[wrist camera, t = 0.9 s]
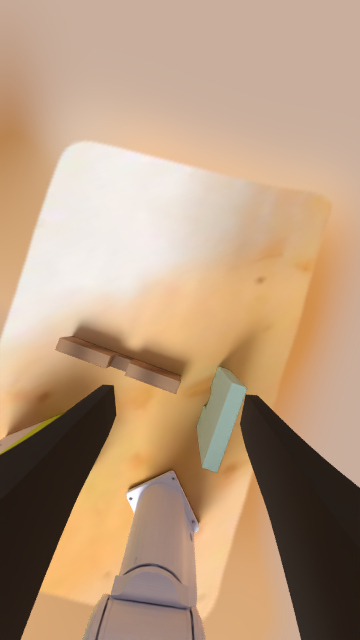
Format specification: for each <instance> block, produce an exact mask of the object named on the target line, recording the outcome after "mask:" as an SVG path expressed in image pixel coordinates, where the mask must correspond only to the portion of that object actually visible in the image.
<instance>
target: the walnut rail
mask: <svg viewBox="0 0 360 640" xmlns="http://www.w3.org/2000/svg"><path fill="white" fill-rule="evenodd" d="M55 350H57V351H59V352H62V353H65V354H68V355H70V356H73V357H76V358H79V359H81V360H84V361H87V362H89V363H92V364H95V365H98V366H100V367H103V368H108V367H109V366H111V367H114V368H117V369H119V370H122V371H125V372H126V373H125V376H128V377H130V378H133V379H136V380H139V381H141V382H144V383H147V384H150V385H152V386H155V387H158V388H161V389H163V390H166V391H169V392H172V393H174V394H176V393H177V390H178V387H179V385H180V380H181V376H180V375H177V374H174V373H172V372H169V371H166V370H163V369H161V368H158V367H155V366H152V365H150V364H147V363H144V362H141V361H139V360H136V359H133V358H130V357H128V356H125V355H122V354H119V353H117V352H114V351H111V350H108V349H106V348H103V347H100V346H97V345H95V344H92V343H89V342H86V341H84V340H81V339H78V338H75V337H73V336H70V337H62V338H59V341H58V344H57V346H56V349H55Z"/></svg>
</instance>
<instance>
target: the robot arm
mask: <svg viewBox="0 0 360 640" xmlns="http://www.w3.org/2000/svg"><path fill="white" fill-rule="evenodd" d="M115 417H116V406H115V395H114V385H102V386H100V387H99V388H97V389H96V390H95V391H93V392H92V393H91V394H89V395H88V396H87V397H85V398H84V399H83V400H81V401H80V402H79V403H77V404H76V405H75V406H73V407H72V408H71V409H69V410H68V411H67V412H65V413H64V414H62V415H61V416H59V417H58V418H57V419H55V420H54V421H52V422H51V423H49V424H48V425H46V426H45V427H43V428H42V429H41V430H39V431H38V432H36V433H35V434H33V435H32V436H30V437H28V438H27V439H25V440H24V441H22V442H20V443H19V444H17V445H16V446H14V447H12V448H11V449H9V450H7V451H6V452H4V453H2V454H1V455H0V640H21V637H22V634H23V631H24V629H25V626H26V624H27V621H28V619H29V616H30V613H31V610H32V608H33V606H34V603H35V600H36V598H37V595H38V593H39V590H40V588H41V585H42V582H43V580H44V577H45V575H46V572H47V570H48V567H49V565H50V562H51V560H52V557H53V555H54V552H55V550H56V547H57V545H58V542H59V540H60V538H61V535H62V533H63V530H64V528H65V526H66V523H67V521H68V518H69V516H70V514H71V511H72V509H73V507H74V504H75V502H76V500H77V498H78V496H79V493H80V491H81V489H82V487H83V485H84V483H85V481H86V479H87V477H88V475H89V473H90V471H91V469H92V467H93V465H94V463H95V461H96V459H97V457H98V455H99V453H100V451H101V449H102V447H103V445H104V443H105V441H106V439H107V437H108V435H109V433H110V430H111V428H112V425H113V422H114V420H115ZM240 426H241V431H242V435H243V439H244V443H245V447H246V450H247V453H248V456H249V459H250V462H251V465H252V468H253V470H254V473H255V476H256V479H257V482H258V485H259V488H260V491H261V493H262V496H263V499H264V502H265V505H266V508H267V511H268V514H269V517H270V520H271V524H272V528H273V531H274V535H275V538H276V543H277V546H278V550H279V553H280V557H281V561H282V565H283V569H284V572H285V577H286V580H287V584H288V588H289V592H290V596H291V600H292V603H293V608H294V612H295V616H296V620H297V624H298V628H299V632H300V636H301V640H360V488H359V487H358V486H357V485H356V484H354V483H353V482H352V481H351V480H349V479H348V478H347V477H346V476H344V475H343V474H342V473H341V472H340V471H338V470H337V469H336V468H335V467H333V466H332V465H331V464H330V463H329V462H327V461H326V460H325V459H324V458H323V457H322V456H321V455H319V454H318V453H317V452H316V451H315V450H314V449H313V448H311V446H309V445H308V444H307V443H306V442H305V441H304V440H303V439H302V438H301V437H300V436H298V435H297V434H296V433H295V432H294V431H293V430H292V429H291V428H290V427H289V426H288V425H287V424H286V423H285V422H284V421H283V420H281V418H280V417H279V416H278V415H277V414H276V413H275V412H274V411H273V410H272V409H271V408H270V407H269V406H268V405H267V404H266V403H265V402H264V401H263V400H262V399H261V398H260V397H259V396H257V395H246V396H245V401H244V406H243V412H242V417H241V422H240ZM172 477H174V478H172ZM126 497H127V499H128V501H129V503H130V505H131V508H132V510H133V512H134V516H133V520H132V524H131V528H130V532H129V536H128V540H127V544H126V548H125V553H124V557H123V561H122V565H121V569H120V573H119V575H117V576H115V580H114V584H113V588H112V592H111V595H109V594H106V593H105V594H103V595H102V597H101V599H100V600H99V601H98V603H97V604H96V605H95V607H94V609H93V612H92V614H91V616H90V619H89V622H88V625H87V628H86V631H85V634H84V637H83V640H205V632H204V626H203V622H202V620H201V618H200V616H199V613H198V610H197V608H196V602H197V583H196V565H195V548H194V532H196V531H198V530H199V524H198V521H197V519H196V517H195V515H194V513H193V511H192V509H191V506H190V504H189V502H188V500H187V498H186V496H185V493H184V491H183V489H182V487H181V485H180V483H179V480H178V478H177V476H176V474H175V472H174V471H172V470H171V471H169V472H167V473H164V474H162V475H160V476H158V477H156V478H154V479H152V480H149V481H147V482H145V483H143V484H141V485H139V486H137V487H135V488H132V489H130V490H128V491H127V494H126ZM131 497H132V498H131ZM192 520H194V521H192Z"/></svg>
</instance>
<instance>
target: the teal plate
mask: <svg viewBox="0 0 360 640" xmlns="http://www.w3.org/2000/svg"><path fill="white" fill-rule="evenodd" d="M246 390H247V387H246V386H245V385H244V384H243V383H242V382H241V381H240V380H239V379H238V378H237V377H236V376H235V375H234V374H233V373H232V372H231V371H230V370H228V369H225V368H222V367H220V366H218V368H217V371H216V374H215V376H214V379H213V382H212V385H211V391H212V393H211V395H210V398H209V401H208V404H207V406H205V405H204V407H203V410H202V413H201V416H200V418H199V421H198V424H197V427H196V429H197V436H198V443H199V450H200V457H201V464H202V468H205V469H208V470H210V471H213V472H216V473H217V472H218V469H219V466H220V464H221V461H222V458H223V455H224V452H225V450H226V447H227V444H228V441H229V438H230V435H231V433H232V430H233V427H234V424H235V421H236V419H237V416H238V413H239V410H240V407H241V404H242V402H243V399H244V396H245V393H246Z"/></svg>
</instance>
